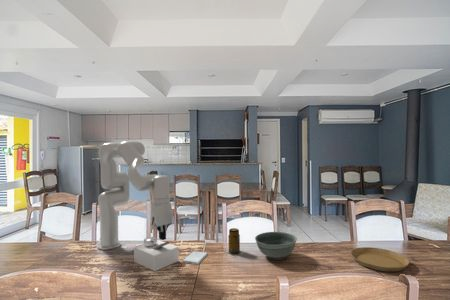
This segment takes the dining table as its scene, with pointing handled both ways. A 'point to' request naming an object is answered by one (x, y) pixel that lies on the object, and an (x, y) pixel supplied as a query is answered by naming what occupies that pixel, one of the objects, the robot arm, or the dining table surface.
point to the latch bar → (160, 245)
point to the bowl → (276, 244)
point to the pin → (150, 242)
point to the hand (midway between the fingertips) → (162, 239)
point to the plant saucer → (379, 259)
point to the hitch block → (156, 256)
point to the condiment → (234, 242)
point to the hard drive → (195, 257)
